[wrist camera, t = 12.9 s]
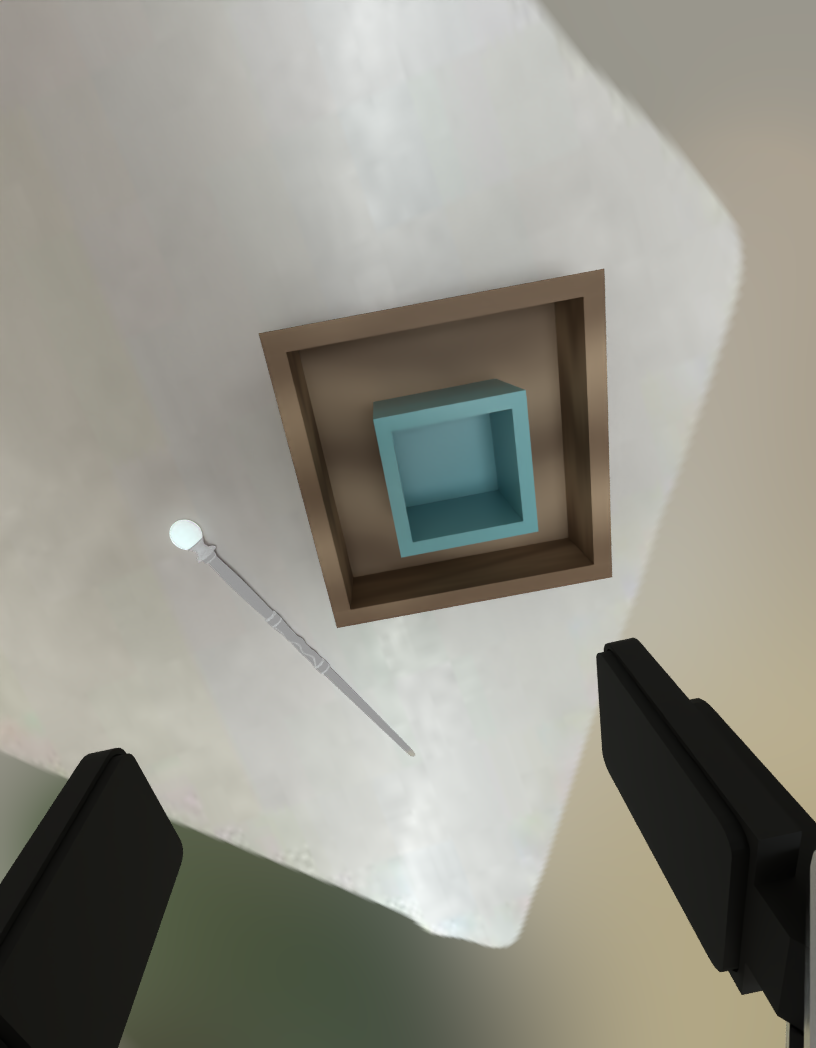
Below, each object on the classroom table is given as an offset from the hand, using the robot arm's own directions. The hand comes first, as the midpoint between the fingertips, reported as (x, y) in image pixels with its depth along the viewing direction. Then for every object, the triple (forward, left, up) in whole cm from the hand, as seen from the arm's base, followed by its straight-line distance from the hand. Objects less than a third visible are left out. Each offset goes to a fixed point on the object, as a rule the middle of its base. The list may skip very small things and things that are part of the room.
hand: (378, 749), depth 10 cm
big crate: (0, +4, -22) cm, 22 cm away
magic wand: (+12, -7, -23) cm, 27 cm away
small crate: (-1, +4, -21) cm, 21 cm away
